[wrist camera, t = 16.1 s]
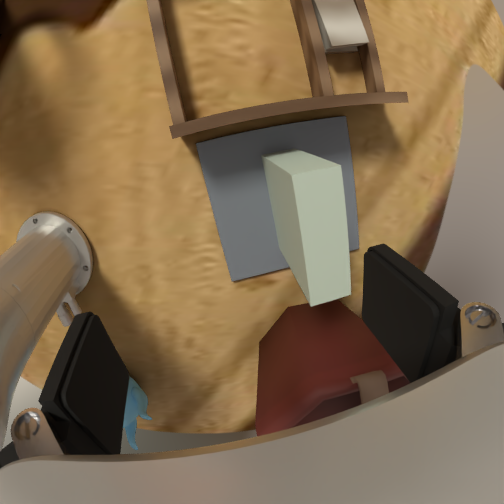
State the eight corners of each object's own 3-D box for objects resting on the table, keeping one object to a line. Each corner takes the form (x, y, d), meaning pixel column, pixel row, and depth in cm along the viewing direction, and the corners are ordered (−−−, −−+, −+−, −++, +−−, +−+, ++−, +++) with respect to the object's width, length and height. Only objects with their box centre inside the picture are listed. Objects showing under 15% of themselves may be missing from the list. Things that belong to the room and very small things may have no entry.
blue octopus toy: (88, 343, 41) (70, 389, 32) (162, 372, 46) (157, 421, 37) (78, 386, 45) (65, 427, 36) (141, 410, 49) (137, 452, 40)
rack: (376, 102, 32) (408, 102, 26) (179, 135, 31) (172, 138, 25) (332, -57, 21) (353, -79, 15) (143, -40, 20) (132, -65, 14)
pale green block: (309, 240, 38) (351, 294, 27) (279, 248, 38) (310, 306, 27) (294, 148, 33) (340, 165, 22) (261, 155, 33) (291, 175, 21)
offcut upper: (361, 45, 28) (369, 42, 26) (325, 49, 28) (332, 46, 26) (334, -22, 23) (341, -27, 22) (298, -20, 23) (303, -26, 22)
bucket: (344, 384, 54) (392, 488, 31) (232, 392, 50) (252, 520, 27) (388, 278, 44) (487, 388, 22) (250, 273, 40) (299, 442, 18)
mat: (357, 246, 41) (359, 248, 40) (231, 279, 40) (231, 281, 39) (343, 116, 33) (345, 116, 32) (196, 143, 32) (195, 143, 32)
